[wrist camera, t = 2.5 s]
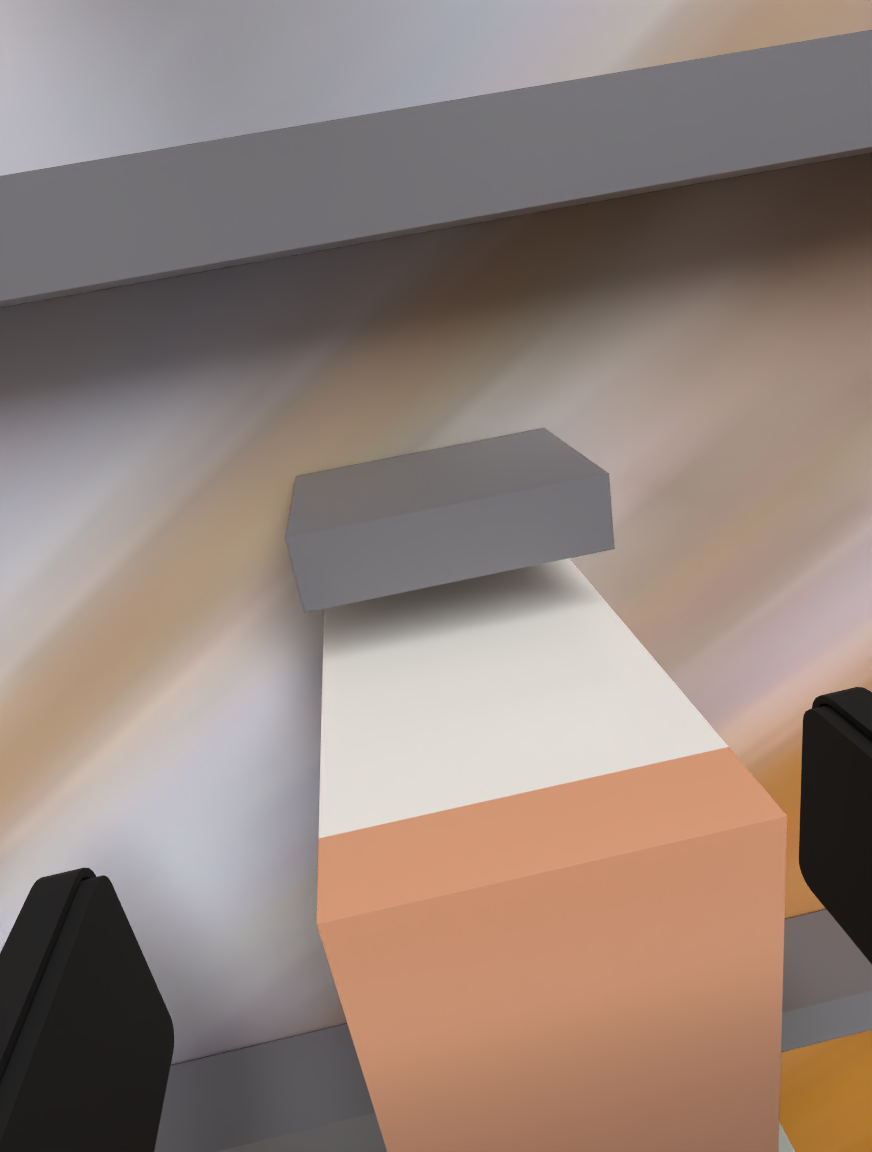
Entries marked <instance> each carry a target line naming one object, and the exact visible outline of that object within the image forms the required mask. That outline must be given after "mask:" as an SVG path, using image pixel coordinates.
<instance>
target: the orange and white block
mask: <svg viewBox="0 0 872 1152" xmlns="http://www.w3.org/2000/svg"><path fill="white" fill-rule="evenodd" d="M786 841H787V816H786V814H785V813H784V812H783V811H782V810H781V808H780V807H779V806H778V805H777V804H776V803H775V801H774V800H773V799H772V798H771V797H770V795H769V794H768V793H767V792H766V791H765V789H764V788H763V787H762V786H761V785H760V784H759V782H758V781H757V780H756V779H755V778H754V776H753V775H752V774H751V773H750V772H749V771H748V769H747V768H746V767H745V766H744V765H743V763H742V762H741V761H740V760H739V759H738V758H737V756H736V755H735V754H734V753H733V752H732V750H731V749H730V748H729V747H728V746H727V745H726V743H725V742H724V741H723V740H722V739H721V737H720V736H719V735H718V734H717V733H716V732H715V730H714V729H713V728H712V727H711V726H710V724H709V723H708V722H707V721H706V720H705V719H704V717H703V716H702V715H701V714H700V713H699V711H698V710H697V709H696V708H695V707H694V706H693V704H692V703H691V702H690V701H689V700H688V698H687V697H686V696H685V695H684V694H683V693H682V691H681V690H680V689H679V688H678V687H677V685H676V684H675V683H674V682H673V681H672V680H671V678H670V677H669V676H668V675H667V674H666V672H665V671H664V670H663V669H662V668H661V667H660V665H659V664H658V663H657V662H656V661H655V659H654V658H653V657H652V656H651V655H650V654H649V652H648V651H647V650H646V649H645V648H644V646H643V645H642V644H641V643H640V642H639V640H638V639H637V638H636V637H635V636H634V635H633V633H632V632H631V631H630V630H629V629H628V627H627V626H626V625H625V624H624V623H623V622H622V620H621V619H620V618H619V617H618V616H617V614H616V613H615V612H614V611H613V610H612V609H611V607H610V606H609V605H608V604H607V603H606V601H605V600H604V599H603V598H602V597H601V596H600V594H599V593H598V592H597V591H596V590H595V588H594V587H593V586H592V585H591V584H590V583H589V581H588V580H587V579H586V578H585V577H584V575H583V574H582V573H581V572H580V571H579V570H578V568H577V567H576V566H575V565H574V564H573V562H572V561H571V560H570V559H569V558H568V559H563V560H558V561H553V562H548V563H544V564H539V565H534V566H529V567H524V568H519V569H514V570H510V571H505V572H500V573H495V574H490V575H485V576H480V577H476V578H471V579H466V580H461V581H456V582H451V583H446V584H441V585H437V586H432V587H427V588H422V589H417V590H412V591H407V592H403V593H398V594H393V595H388V596H383V597H378V598H373V599H369V600H364V601H359V602H354V603H349V604H344V605H339V606H335V607H330V608H325V609H324V633H323V676H322V718H321V760H320V802H319V845H318V887H317V927H318V930H319V934H320V937H321V940H322V943H323V947H324V950H325V953H326V956H327V959H328V963H329V966H330V969H331V972H332V975H333V979H334V982H335V985H336V988H337V992H338V995H339V998H340V1001H341V1004H342V1008H343V1011H344V1014H345V1017H346V1021H347V1024H348V1027H349V1030H350V1033H351V1037H352V1040H353V1043H354V1046H355V1049H356V1053H357V1056H358V1059H359V1062H360V1066H361V1069H362V1072H363V1075H364V1078H365V1082H366V1085H367V1088H368V1091H369V1094H370V1098H371V1101H372V1104H373V1107H374V1111H375V1114H376V1117H377V1120H378V1123H379V1127H380V1130H381V1133H382V1136H383V1139H384V1143H385V1146H386V1149H387V1152H779V1114H780V1075H781V1036H782V997H783V958H784V919H785V880H786Z"/></svg>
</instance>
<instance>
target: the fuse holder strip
mask: <svg viewBox="0 0 872 1152" xmlns="http://www.w3.org/2000/svg"><path fill="white" fill-rule="evenodd" d="M867 153H872V30H868V31H862V32H856V33H850V34H844V35H838V36H832V37H826V38H820V39H814V40H809V41H803V42H797V43H791V44H785V45H779V46H773V47H767V48H761V49H755V50H749V51H743V52H737V53H731V54H725V55H719V56H713V57H707V58H701V59H695V60H689V61H683V62H677V63H671V64H665V65H659V66H653V67H648V68H642V69H636V70H630V71H624V72H618V73H612V74H606V75H600V76H594V77H588V78H582V79H576V80H570V81H564V82H558V83H552V84H546V85H540V86H534V87H528V88H522V89H516V90H510V91H504V92H498V93H493V94H487V95H481V96H475V97H469V98H463V99H457V100H451V101H445V102H439V103H433V104H427V105H421V106H415V107H409V108H403V109H397V110H391V111H385V112H379V113H373V114H367V115H361V116H355V117H349V118H343V119H337V120H332V121H326V122H320V123H314V124H308V125H302V126H296V127H290V128H284V129H278V130H272V131H266V132H260V133H254V134H248V135H242V136H236V137H230V138H224V139H218V140H212V141H206V142H200V143H194V144H188V145H182V146H177V147H171V148H165V149H159V150H153V151H147V152H141V153H135V154H129V155H123V156H117V157H111V158H105V159H99V160H93V161H87V162H81V163H75V164H69V165H63V166H57V167H51V168H45V169H39V170H33V171H27V172H21V173H16V174H10V175H4V176H0V307H6V306H11V305H17V304H23V303H28V302H34V301H39V300H45V299H51V298H56V297H62V296H68V295H73V294H79V293H84V292H90V291H96V290H101V289H107V288H113V287H118V286H124V285H129V284H135V283H141V282H146V281H152V280H158V279H163V278H169V277H174V276H180V275H186V274H191V273H197V272H203V271H208V270H214V269H219V268H225V267H231V266H236V265H242V264H248V263H253V262H259V261H264V260H270V259H276V258H281V257H287V256H293V255H298V254H304V253H310V252H315V251H321V250H326V249H332V248H338V247H343V246H349V245H355V244H360V243H366V242H371V241H377V240H383V239H388V238H394V237H400V236H405V235H411V234H416V233H422V232H428V231H433V230H439V229H445V228H450V227H456V226H461V225H467V224H473V223H478V222H484V221H490V220H495V219H501V218H506V217H512V216H518V215H523V214H529V213H535V212H540V211H546V210H551V209H557V208H563V207H568V206H574V205H580V204H585V203H591V202H596V201H602V200H608V199H613V198H619V197H625V196H630V195H636V194H642V193H647V192H653V191H658V190H664V189H670V188H675V187H681V186H687V185H692V184H698V183H703V182H709V181H715V180H720V179H726V178H732V177H737V176H743V175H748V174H754V173H760V172H765V171H771V170H777V169H782V168H788V167H793V166H799V165H805V164H810V163H816V162H822V161H827V160H833V159H838V158H844V157H850V156H855V155H861V154H867ZM285 540H286V543H287V547H288V551H289V555H290V559H291V563H292V566H293V570H294V574H295V578H296V582H297V586H298V589H299V593H300V597H301V601H302V605H303V609H304V612H310V611H315V610H320V609H325V608H330V607H335V606H339V605H344V604H349V603H354V602H359V601H364V600H369V599H373V598H378V597H383V596H388V595H393V594H398V593H403V592H407V591H412V590H417V589H422V588H427V587H432V586H437V585H441V584H446V583H451V582H456V581H461V580H466V579H471V578H476V577H480V576H485V575H490V574H495V573H500V572H505V571H510V570H514V569H519V568H524V567H529V566H534V565H539V564H544V563H548V562H553V561H558V560H563V559H568V558H573V557H578V556H582V555H587V554H592V553H597V552H602V551H607V550H612V549H615V548H614V535H613V522H612V509H611V496H610V483H609V473H607V472H606V471H604V470H603V469H602V468H600V467H599V466H597V465H596V464H595V463H593V462H592V461H590V460H589V459H587V458H586V457H585V456H583V455H582V454H580V453H579V452H578V451H576V450H575V449H573V448H572V447H570V446H569V445H568V444H566V443H565V442H563V441H562V440H561V439H559V438H558V437H556V436H555V435H553V434H552V433H551V432H549V431H548V430H546V429H545V428H541V429H536V430H531V431H526V432H521V433H515V434H510V435H505V436H500V437H495V438H490V439H485V440H480V441H474V442H469V443H464V444H459V445H454V446H449V447H444V448H439V449H433V450H428V451H423V452H418V453H413V454H408V455H403V456H397V457H392V458H387V459H382V460H377V461H372V462H367V463H362V464H356V465H351V466H346V467H341V468H336V469H331V470H326V471H321V472H315V473H310V474H305V475H300V476H296V480H295V486H294V491H293V497H292V502H291V508H290V514H289V519H288V525H287V530H286V536H285ZM869 1030H872V964H871V963H870V962H869V961H868V959H867V958H866V957H865V956H864V954H863V953H862V952H861V951H860V950H859V948H858V947H857V946H856V945H855V943H854V942H853V941H852V940H851V939H850V937H849V936H848V935H847V934H846V932H845V931H844V930H843V929H842V927H841V926H840V925H839V924H838V923H837V921H836V920H835V919H834V918H833V916H832V915H831V914H830V913H829V912H828V910H827V909H826V910H822V911H818V912H813V913H809V914H805V915H801V916H797V917H793V918H788V919H784V958H783V997H782V1036H781V1052H784V1051H788V1050H792V1049H796V1048H800V1047H804V1046H808V1045H812V1044H816V1043H820V1042H824V1041H828V1040H832V1039H836V1038H840V1037H844V1036H848V1035H852V1034H857V1033H861V1032H865V1031H869ZM383 1151H387V1149H386V1146H385V1143H384V1139H383V1136H382V1133H381V1130H380V1127H379V1123H378V1120H377V1117H376V1114H375V1111H374V1107H373V1104H372V1101H371V1098H370V1094H369V1091H368V1088H367V1085H366V1082H365V1078H364V1075H363V1072H362V1069H361V1066H360V1062H359V1059H358V1056H357V1053H356V1049H355V1046H354V1043H353V1040H352V1037H351V1033H350V1030H349V1027H348V1024H344V1025H340V1026H335V1027H331V1028H327V1029H323V1030H319V1031H314V1032H310V1033H306V1034H302V1035H298V1036H294V1037H289V1038H285V1039H281V1040H277V1041H273V1042H268V1043H264V1044H260V1045H256V1046H252V1047H247V1048H243V1049H239V1050H235V1051H231V1052H226V1053H222V1054H218V1055H214V1056H210V1057H205V1058H201V1059H197V1060H193V1061H189V1062H184V1063H180V1064H176V1065H172V1066H170V1071H169V1076H168V1082H167V1087H166V1092H165V1097H164V1103H163V1108H162V1113H161V1119H160V1124H159V1129H158V1134H157V1140H156V1145H155V1150H154V1152H383Z"/></svg>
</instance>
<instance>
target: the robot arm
mask: <svg viewBox="0 0 872 1152" xmlns="http://www.w3.org/2000/svg"><path fill="white" fill-rule="evenodd" d="M799 865H800V869H801V872H802V875H803V877H804V879H805V881H806V883H807V885H808V886H809V888H810V889H811V891H812V892H813V893H814V894H815V896H816V897H817V898H818V899H819V901H820V902H821V903H822V904H823V905H824V907H825V908H826V909H827V910H828V912H829V913H830V914H831V915H832V916H833V918H834V919H835V920H836V921H837V923H838V924H839V925H840V926H841V927H842V929H843V930H844V931H845V932H846V934H847V935H848V936H849V937H850V939H851V940H852V941H853V942H854V943H855V945H856V946H857V947H858V948H859V950H860V951H861V952H862V953H863V954H864V956H865V957H866V958H867V959H868V961H869V962H870V963H871V964H872V692H870V691H868V690H867V689H865V688H861V687H855V688H851V689H847V690H842V691H838V692H834V693H830V694H825V695H821V696H819V697H817V698H816V699H815V700H814V702H813V705H812V709H810V710H808V711H806V712H805V714H804V718H803V740H802V774H801V807H800V841H799ZM173 1048H174V1030H173V1024H172V1020H171V1017H170V1015H169V1012H168V1010H167V1008H166V1005H165V1003H164V1001H163V999H162V996H161V994H160V992H159V990H158V987H157V985H156V983H155V981H154V978H153V976H152V974H151V971H150V969H149V967H148V965H147V962H146V960H145V958H144V956H143V953H142V951H141V949H140V946H139V944H138V942H137V940H136V937H135V935H134V933H133V931H132V928H131V926H130V924H129V922H128V919H127V917H126V915H125V912H124V910H123V908H122V906H121V903H120V901H119V899H118V897H117V894H116V892H115V890H114V887H113V885H112V883H111V881H110V880H109V878H108V877H106V876H99V877H96V875H95V874H94V872H93V871H92V870H91V869H89V868H81V869H77V870H72V871H68V872H64V873H59V874H55V875H51V876H47V877H42V878H40V879H39V880H37V881H36V882H35V883H34V885H33V887H32V888H31V890H30V892H29V894H28V896H27V899H26V901H25V903H24V905H23V907H22V909H21V911H20V913H19V915H18V918H17V920H16V922H15V924H14V926H13V928H12V930H11V932H10V934H9V936H8V939H7V941H6V943H5V945H4V947H3V949H2V951H1V953H0V1152H154V1150H155V1145H156V1140H157V1134H158V1129H159V1124H160V1119H161V1113H162V1108H163V1103H164V1097H165V1092H166V1087H167V1082H168V1076H169V1071H170V1066H171V1060H172V1055H173Z"/></svg>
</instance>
